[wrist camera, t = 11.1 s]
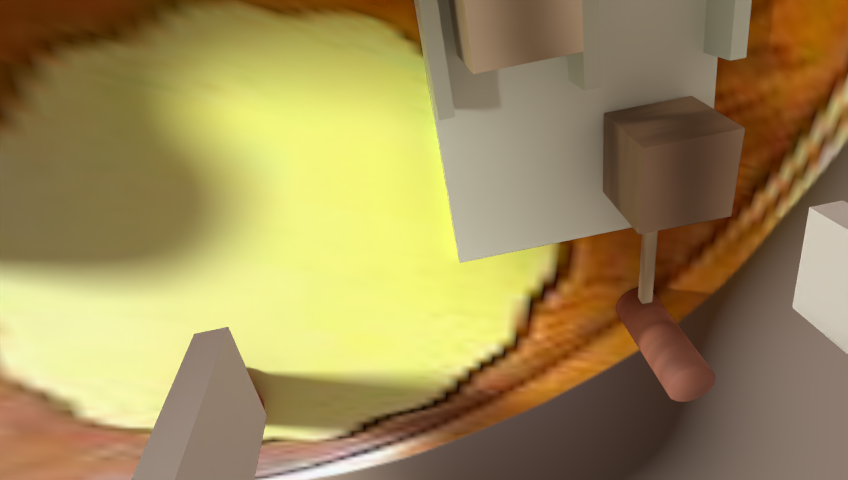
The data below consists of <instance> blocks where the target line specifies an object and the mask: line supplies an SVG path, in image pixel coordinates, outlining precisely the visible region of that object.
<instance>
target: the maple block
mask: <svg viewBox="0 0 848 480" xmlns="http://www.w3.org/2000/svg"><path fill="white" fill-rule="evenodd" d="M449 5H450V12H451V19H452V26H453V33H454V40H455V47H456V54H457V56H458V57H459V58H460V59H461V60H462V61H463V63H464V64H465V65H466V66H467V67H468V68H469V70H470V71H471V72H472V73H473V74H477V73H482V72H487V71H492V70H497V69H502V68H507V67H511V66H516V65H521V64H526V63H531V62H536V61H541V60H546V59H550V58H555V57H560V56H565V55H570V54H575V53H580V52H584V40H583V14H582V0H449Z"/></svg>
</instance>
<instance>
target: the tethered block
mask: <svg viewBox="0 0 848 480" xmlns="http://www.w3.org/2000/svg"><path fill="white" fill-rule="evenodd" d="M744 134H745V128H744V127H743V126H741V125H739V124H738V123H736V122H734V121H733V120H731V119H729V118H728V117H726V116H725V115H723V114H721V113H720V112H718V111H716V110H715V109H713V108H711V107H710V106H708V105H706V104H705V103H703V102H701V101H700V100H698V99H696V98H695V97H693V96H688V97H683V98H678V99H673V100H668V101H663V102H658V103H653V104H648V105H642V106H637V107H632V108H627V109H622V110H617V111H612V112H607V113H604V143H603V192H604V194H605V195H606V196H607V197H608V198H609V200H610V201H611V202H612V203H613V204H614V206H615V207H616V208H617V209H618V210H619V212H620V213H621V214H622V215H623V216H624V218H625V219H626V220H627V221H628V222H629V224H630V225H631V226H632V227H633V228H634V230H635V231H636V232H637V233H638V234H639V235H640V234H642V241H641V257H640V273H639V288H637V289H633V290H631V291H629V292H627V293H626V294H624V295H623V296H622V297H621V298H620V299H619V301H618V303H617V306H616V312H617V314H618V316H619V317H620V319H621V320H622V322H623V324H624V325H625V327H626V328H627V330H628V332H629V333H630V335H631V336H632V338H633V339H634V341H635V343H636V344H637V346H638V347H639V349H640V351H641V352H642V354H643V355H644V357H645V359H646V360H647V362H648V363H649V365H650V366H651V368H652V370H653V371H654V373H655V374H656V376H657V378H658V379H659V381H660V382H661V384H662V386H663V387H664V389H665V390H666V392H667V393H668V395H669V396H670V398H671V399H673V400H676V401H680V402H684V401H691V400H694V399H696V398H699V397H701V396H702V395H704V394H705V393H706V392H707V391H709V390H710V389H711V387H712V386H713V384H714V381H715V375H714V373H713V371H712V370H711V369H710V367H709V366H708V365H707V363H706V362H705V361H704V359H703V358H702V357H701V355H700V354H699V353H698V351H697V350H696V349H695V347H694V346H693V345H692V343H691V342H690V341H689V339H688V338H687V337H686V335H685V334H684V333H683V331H682V330H681V329H680V327H679V326H678V325H677V323H676V322H675V321H674V319H673V318H672V317H671V315H670V314H669V313H668V311H667V310H666V309H665V307H664V306H663V305H662V303H661V302H660V301H659V299H658V298H657V297H656V295H655V294H654V293H653V286H654V273H655V261H656V249H657V236H658V231H660V230H665V229H670V228H675V227H680V226H685V225H690V224H695V223H700V222H705V221H710V220H715V219H720V218H725V217H730V216H731V214H732V208H733V201H734V195H735V189H736V183H737V177H738V171H739V165H740V158H741V152H742V146H743V140H744Z"/></svg>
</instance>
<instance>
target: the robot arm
mask: <svg viewBox="0 0 848 480" xmlns="http://www.w3.org/2000/svg"><path fill="white" fill-rule="evenodd" d="M792 308H793V309H795V310H796V311H797V312H798V313H799V314H801V315H802V316H803V317H804V318H805V319H807V320H808V321H809V322H810V323H811V324H812V325H814V326H815V327H816V328H818V330H820V331H821V332H822V333H823V334H824V335H825V336H827V337H828V338H829V339H830V340H831V341H833V342H834V343H835V344H836V345H837V346H839V347H840V348H841V349H842V350H843V351H844V352H846V353H847V354H848V203H847V202H845V201H844V200H843V201H838V202H833V203H828V204H823V205H818V206H813V207H810V208H809V213H808V219H807V224H806V230H805V236H804V242H803V248H802V253H801V259H800V265H799V271H798V276H797V282H796V288H795V294H794V300H793V306H792ZM266 418H267V415H266V412H265V410H264V408H263V405H262V403H261V401H260V399H259V396H258V394H257V392H256V389H255V387H254V385H253V383H252V380H251V378H250V376H249V373H248V371H247V369H246V367H245V364H244V362H243V360H242V357H241V355H240V353H239V350H238V348H237V346H236V344H235V341H234V339H233V337H232V334H231V332H230V330H229V328H228V327H226V328H221V329H216V330H211V331H206V332H201V333H197V334H194V336H193V338H192V340H191V343H190V345H189V347H188V350H187V352H186V354H185V357H184V359H183V361H182V363H181V366H180V368H179V370H178V373H177V375H176V377H175V380H174V382H173V384H172V387H171V389H170V391H169V394H168V396H167V398H166V401H165V403H164V405H163V407H162V410H161V412H160V414H159V417H158V419H157V421H156V424H155V426H154V428H153V431H152V433H151V435H150V438H149V440H148V442H147V445H146V447H145V449H144V451H143V454H142V456H141V458H140V461H139V463H138V465H137V468H136V470H135V472H134V475H133V477H132V479H131V480H254V478H255V473H256V468H257V463H258V458H259V453H260V448H261V443H262V438H263V433H264V428H265V423H266Z"/></svg>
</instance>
